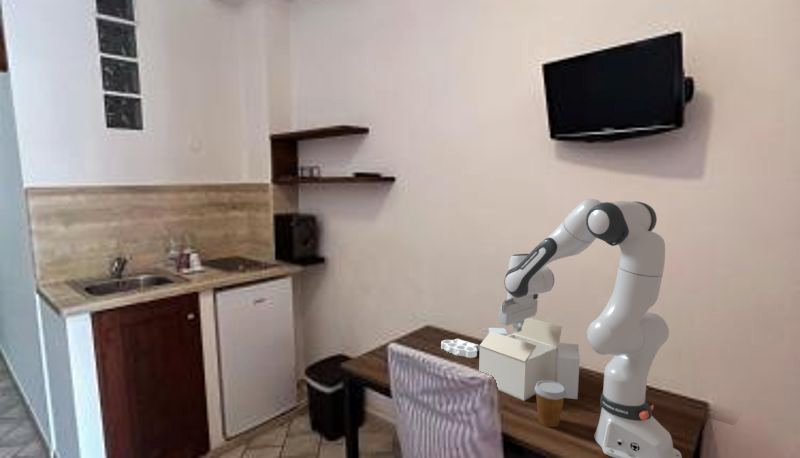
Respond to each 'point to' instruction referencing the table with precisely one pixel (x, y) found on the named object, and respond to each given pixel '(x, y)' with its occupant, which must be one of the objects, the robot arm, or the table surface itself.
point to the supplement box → (498, 331)
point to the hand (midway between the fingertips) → (517, 331)
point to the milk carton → (567, 368)
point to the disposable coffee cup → (549, 402)
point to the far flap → (540, 331)
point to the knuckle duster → (460, 347)
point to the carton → (519, 368)
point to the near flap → (508, 346)
